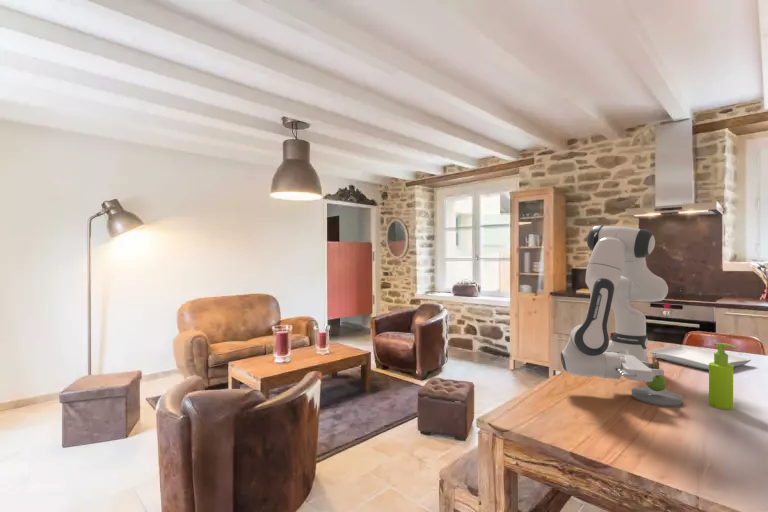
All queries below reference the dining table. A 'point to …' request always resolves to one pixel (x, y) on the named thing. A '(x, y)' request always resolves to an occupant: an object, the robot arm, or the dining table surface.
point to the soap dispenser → (721, 379)
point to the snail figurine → (656, 378)
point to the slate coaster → (657, 397)
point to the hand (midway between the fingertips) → (659, 369)
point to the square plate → (694, 356)
